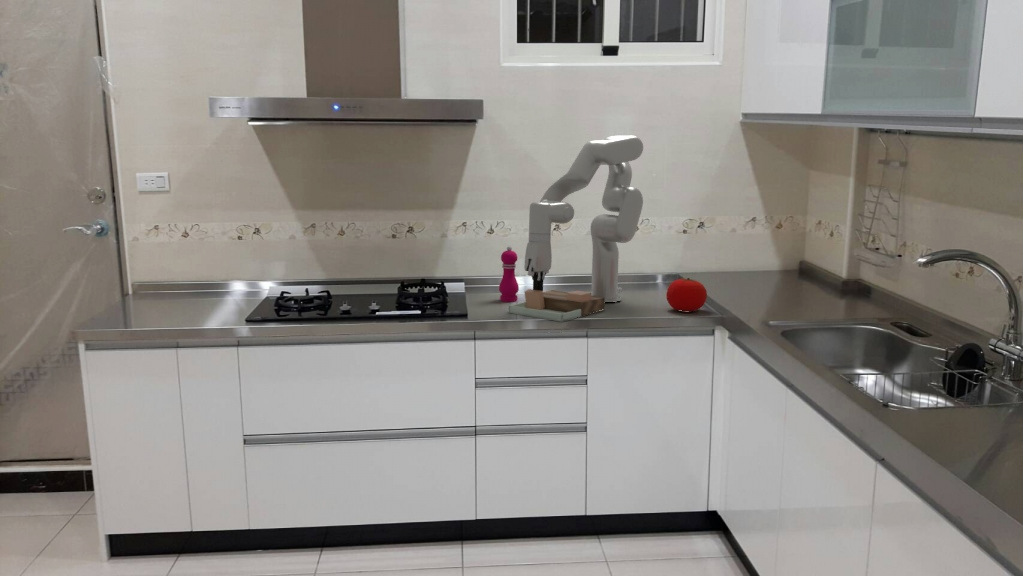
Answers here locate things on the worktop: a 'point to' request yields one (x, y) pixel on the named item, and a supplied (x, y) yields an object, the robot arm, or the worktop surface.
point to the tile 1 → (534, 299)
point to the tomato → (686, 295)
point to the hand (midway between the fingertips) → (537, 291)
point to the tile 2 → (579, 296)
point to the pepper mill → (508, 277)
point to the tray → (543, 313)
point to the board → (571, 303)
